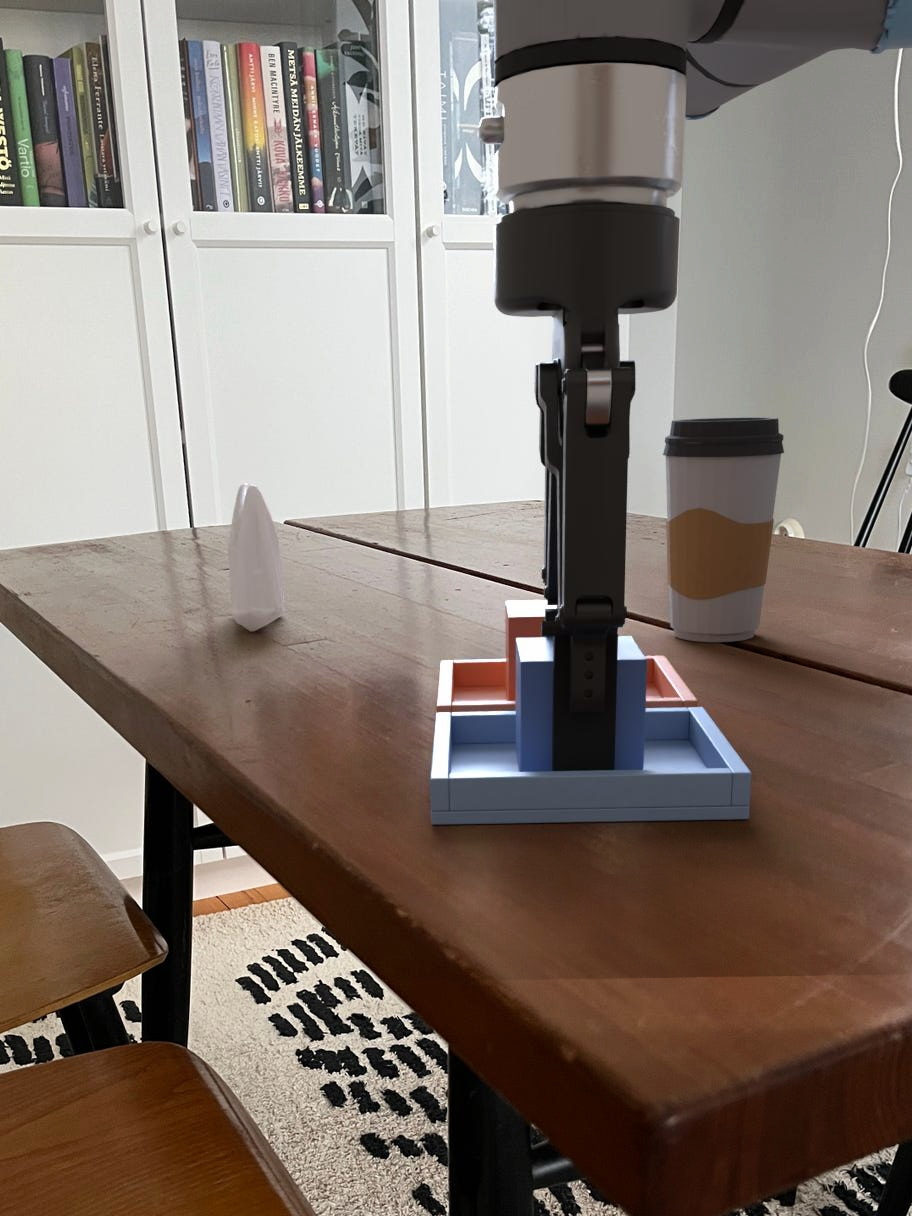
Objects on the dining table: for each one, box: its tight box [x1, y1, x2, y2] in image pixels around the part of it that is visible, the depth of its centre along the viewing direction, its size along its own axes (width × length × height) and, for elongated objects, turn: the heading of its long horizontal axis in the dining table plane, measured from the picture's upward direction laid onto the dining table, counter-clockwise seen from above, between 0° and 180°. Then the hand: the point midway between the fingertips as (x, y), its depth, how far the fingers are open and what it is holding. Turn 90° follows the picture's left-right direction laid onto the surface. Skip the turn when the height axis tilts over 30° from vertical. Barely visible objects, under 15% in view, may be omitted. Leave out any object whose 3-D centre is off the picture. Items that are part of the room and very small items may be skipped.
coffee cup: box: [662, 417, 785, 643], centre depth 90 cm, size 8×8×15 cm
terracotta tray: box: [436, 655, 699, 714], centre depth 71 cm, size 14×12×2 cm
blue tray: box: [429, 706, 753, 826], centre depth 59 cm, size 14×12×2 cm
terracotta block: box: [504, 599, 556, 701], centre depth 71 cm, size 6×6×6 cm
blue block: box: [516, 635, 647, 772], centre depth 58 cm, size 6×6×6 cm
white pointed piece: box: [227, 483, 286, 632], centre depth 100 cm, size 12×4×11 cm, turn 7°
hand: (577, 758), depth 59 cm, fingers closed on blue block, 5 cm apart
